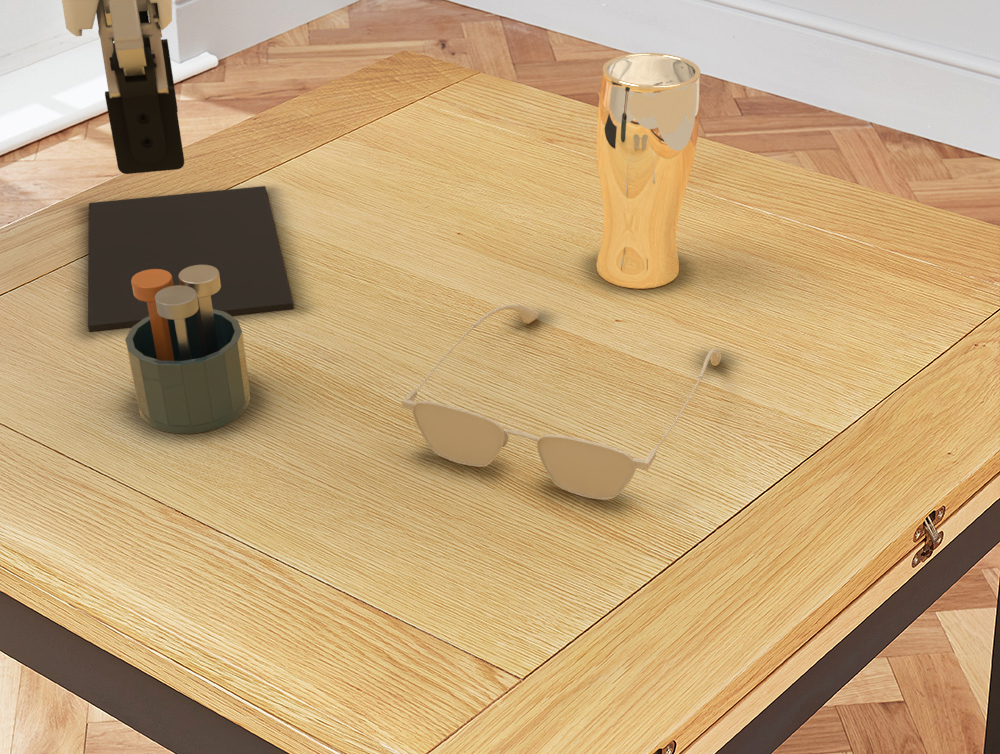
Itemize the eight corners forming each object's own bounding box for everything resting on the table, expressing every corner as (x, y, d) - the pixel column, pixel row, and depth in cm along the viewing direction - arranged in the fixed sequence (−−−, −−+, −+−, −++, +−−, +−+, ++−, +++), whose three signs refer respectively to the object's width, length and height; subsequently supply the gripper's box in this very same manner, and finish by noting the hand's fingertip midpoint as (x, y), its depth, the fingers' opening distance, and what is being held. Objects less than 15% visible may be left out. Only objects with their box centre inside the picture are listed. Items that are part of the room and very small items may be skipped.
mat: (293, 309, 95) (293, 302, 95) (89, 332, 92) (87, 325, 92) (266, 191, 110) (265, 185, 110) (89, 208, 108) (88, 202, 108)
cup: (119, 400, 86) (105, 332, 83) (212, 362, 89) (202, 295, 86) (175, 447, 82) (162, 377, 78) (271, 406, 85) (263, 337, 82)
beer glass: (575, 280, 98) (583, 77, 89) (611, 241, 103) (621, 45, 94) (665, 300, 96) (683, 94, 87) (697, 259, 101) (717, 60, 92)
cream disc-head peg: (174, 400, 85) (154, 287, 80) (213, 396, 85) (195, 283, 80) (174, 421, 83) (154, 306, 78) (214, 417, 83) (196, 302, 78)
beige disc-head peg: (209, 400, 85) (191, 287, 80) (189, 385, 86) (170, 272, 81) (241, 387, 86) (226, 274, 81) (221, 372, 87) (205, 260, 82)
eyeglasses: (401, 450, 81) (398, 394, 79) (520, 314, 94) (521, 263, 92) (643, 515, 76) (648, 457, 74) (734, 362, 89) (740, 309, 87)
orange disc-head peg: (197, 384, 86) (179, 271, 81) (178, 404, 84) (159, 290, 79) (163, 378, 87) (144, 265, 82) (144, 397, 85) (123, 283, 80)
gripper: (5, -280, 65) (76, 89, 75) (-18, -214, 51) (72, 222, 62) (165, -285, 66) (212, 78, 77) (183, -222, 53) (237, 206, 64)
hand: (149, 139), depth 69 cm, fingers open, 6 cm apart
